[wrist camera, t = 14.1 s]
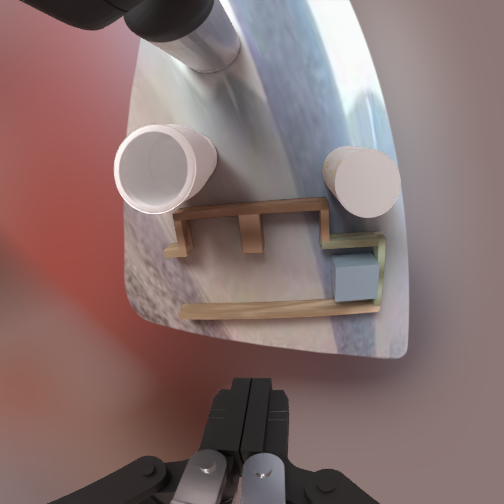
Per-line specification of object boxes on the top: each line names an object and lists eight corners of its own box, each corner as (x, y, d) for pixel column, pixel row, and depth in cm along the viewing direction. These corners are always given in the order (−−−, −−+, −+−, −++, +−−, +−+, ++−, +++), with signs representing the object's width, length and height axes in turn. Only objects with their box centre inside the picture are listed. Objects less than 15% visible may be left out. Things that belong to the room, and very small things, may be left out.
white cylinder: (317, 151, 42) (327, 155, 31) (367, 141, 40) (394, 143, 29) (328, 202, 45) (342, 223, 34) (377, 192, 43) (404, 211, 32)
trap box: (164, 210, 48) (156, 215, 45) (380, 195, 43) (387, 199, 40) (185, 308, 55) (179, 319, 52) (374, 301, 50) (379, 311, 47)
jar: (196, 113, 42) (156, 104, 28) (238, 162, 44) (215, 173, 30) (149, 157, 45) (98, 168, 31) (188, 203, 47) (149, 232, 33)
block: (331, 254, 48) (335, 267, 43) (371, 252, 47) (379, 264, 42) (331, 286, 50) (335, 301, 46) (369, 284, 49) (376, 298, 44)
